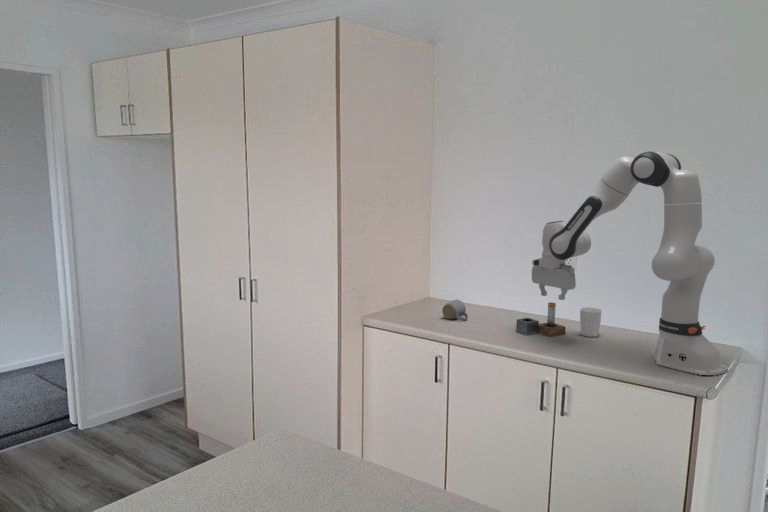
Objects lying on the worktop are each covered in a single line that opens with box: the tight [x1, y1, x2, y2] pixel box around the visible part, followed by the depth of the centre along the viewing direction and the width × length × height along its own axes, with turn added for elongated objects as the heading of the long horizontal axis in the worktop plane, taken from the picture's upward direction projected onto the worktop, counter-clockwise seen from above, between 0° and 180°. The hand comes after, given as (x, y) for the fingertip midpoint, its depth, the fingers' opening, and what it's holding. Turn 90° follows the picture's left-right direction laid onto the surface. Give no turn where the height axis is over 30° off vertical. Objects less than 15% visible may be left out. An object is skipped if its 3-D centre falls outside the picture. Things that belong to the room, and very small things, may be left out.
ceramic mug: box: [442, 299, 469, 322], centre depth 254 cm, size 11×8×8 cm
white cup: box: [579, 306, 603, 338], centre depth 230 cm, size 8×8×10 cm
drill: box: [546, 302, 557, 327], centre depth 231 cm, size 3×3×12 cm
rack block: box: [537, 322, 567, 338], centre depth 232 cm, size 8×8×3 cm
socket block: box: [515, 317, 540, 336], centre depth 233 cm, size 6×6×5 cm
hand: (552, 297), depth 230 cm, fingers open, 8 cm apart
